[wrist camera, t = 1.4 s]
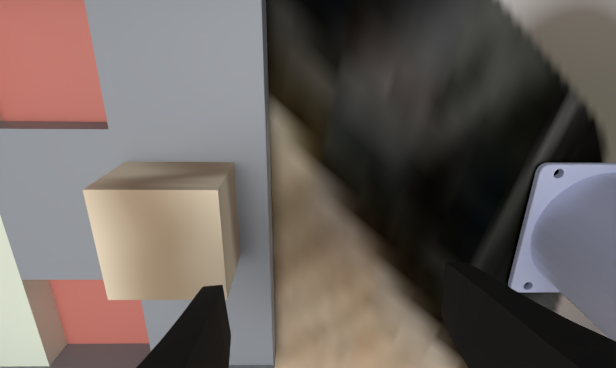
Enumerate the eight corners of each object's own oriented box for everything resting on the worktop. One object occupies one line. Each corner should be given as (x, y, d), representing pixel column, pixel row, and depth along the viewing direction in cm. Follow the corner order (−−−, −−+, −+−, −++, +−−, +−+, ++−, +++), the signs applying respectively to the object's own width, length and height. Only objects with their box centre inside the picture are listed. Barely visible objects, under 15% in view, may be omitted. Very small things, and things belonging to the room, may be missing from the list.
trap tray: (264, -40, 16) (248, -77, 11) (275, 351, 23) (269, 426, 19) (-174, -46, 15) (-384, -88, 11) (-14, 352, 23) (-93, 430, 18)
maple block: (234, 162, 17) (217, 190, 13) (240, 254, 18) (227, 299, 15) (125, 161, 17) (82, 189, 13) (142, 255, 18) (107, 300, 15)
